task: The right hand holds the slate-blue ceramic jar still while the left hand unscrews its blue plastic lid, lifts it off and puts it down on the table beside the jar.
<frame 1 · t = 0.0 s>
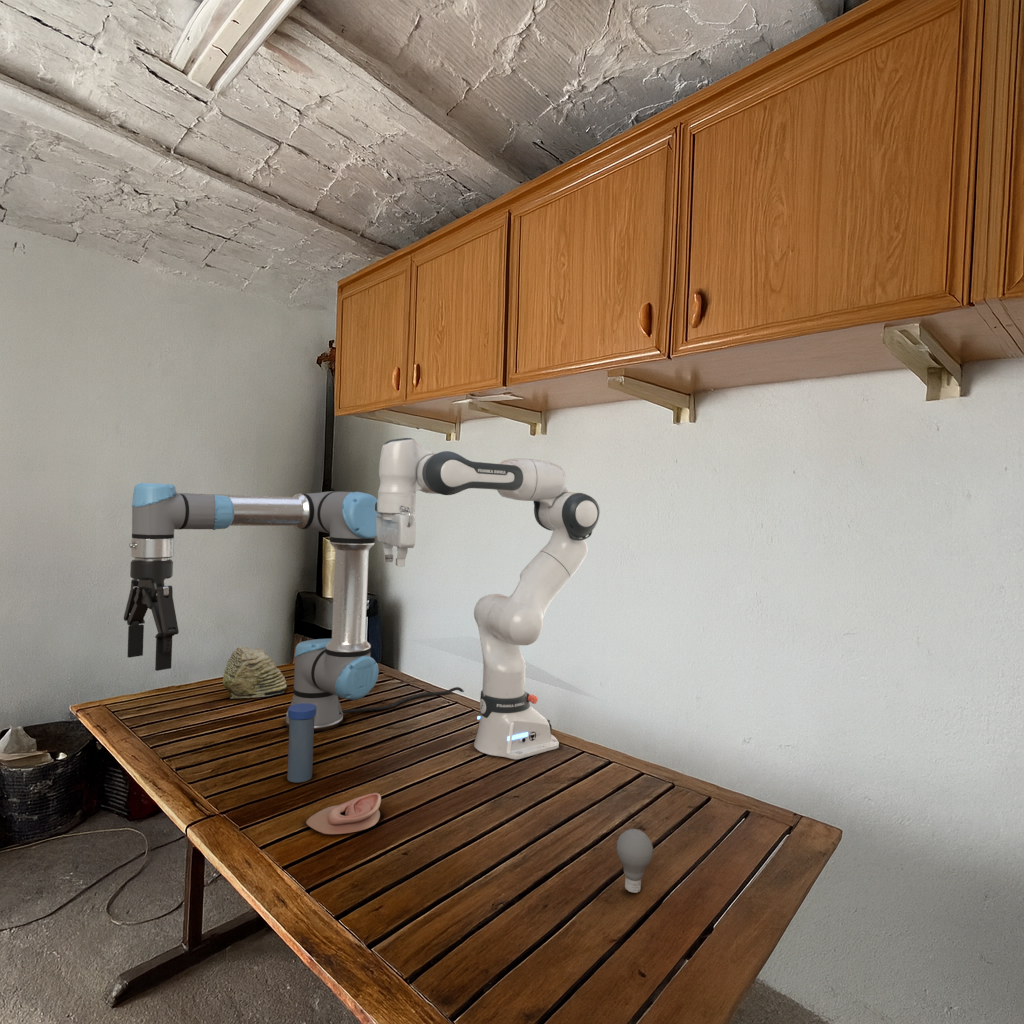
left hand: (148, 662, 129), 28 cm above the table, tool pointing down, fingers open, 13 cm apart
right hand: (394, 564, 151), 48 cm above the table, tool pointing down, fingers open, 8 cm apart
lid: (302, 709, 142), point 15 cm above the table, screwed on, not yet turned
light bulb: (632, 891, 106), on the table
jar: (299, 777, 142), on the table
fossil: (254, 694, 198), on the table
anatomical model: (344, 821, 124), on the table
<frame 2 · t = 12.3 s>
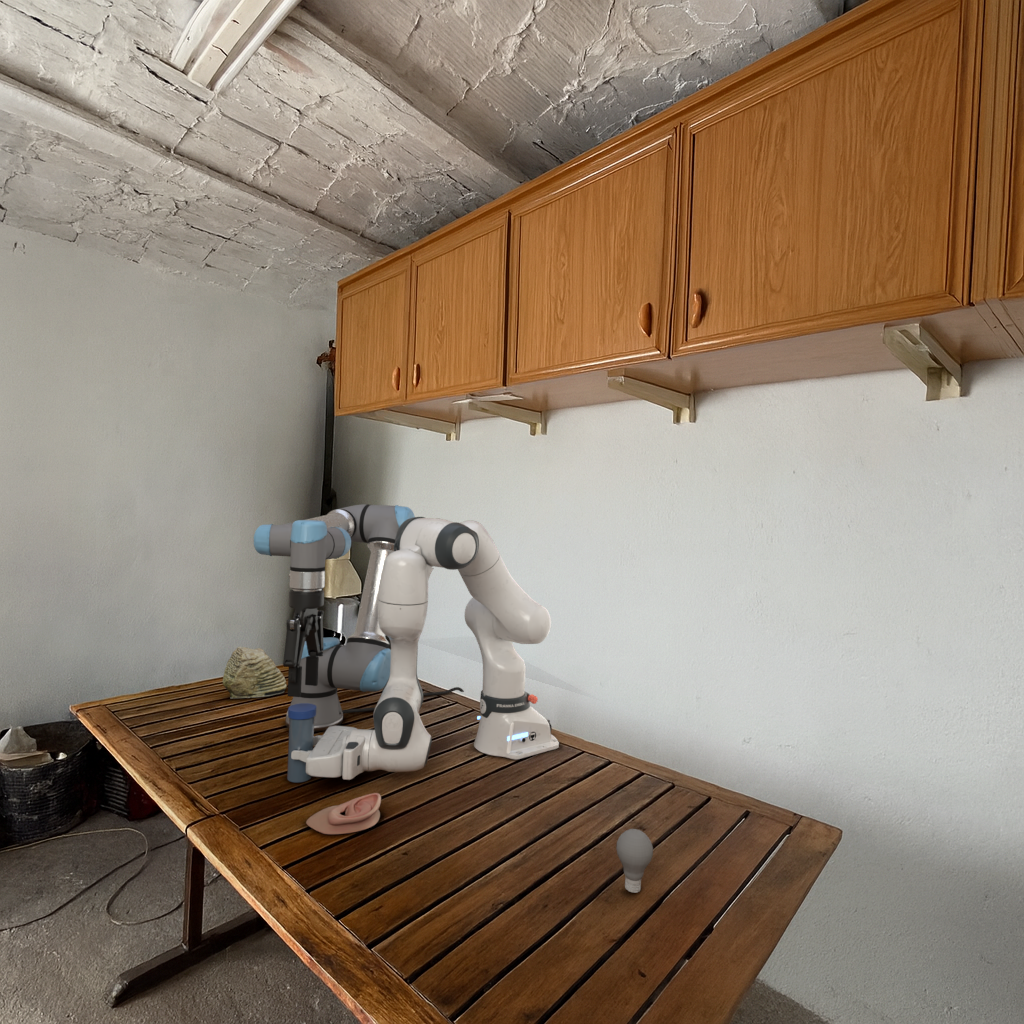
left hand: (303, 690, 142), 20 cm above the table, tool pointing down, fingers open, 8 cm apart
right hand: (296, 748, 142), 7 cm above the table, tool horizontal, fingers closed on jar, 5 cm apart
jar: (299, 777, 142), on the table, touching right hand
everything else where it was.
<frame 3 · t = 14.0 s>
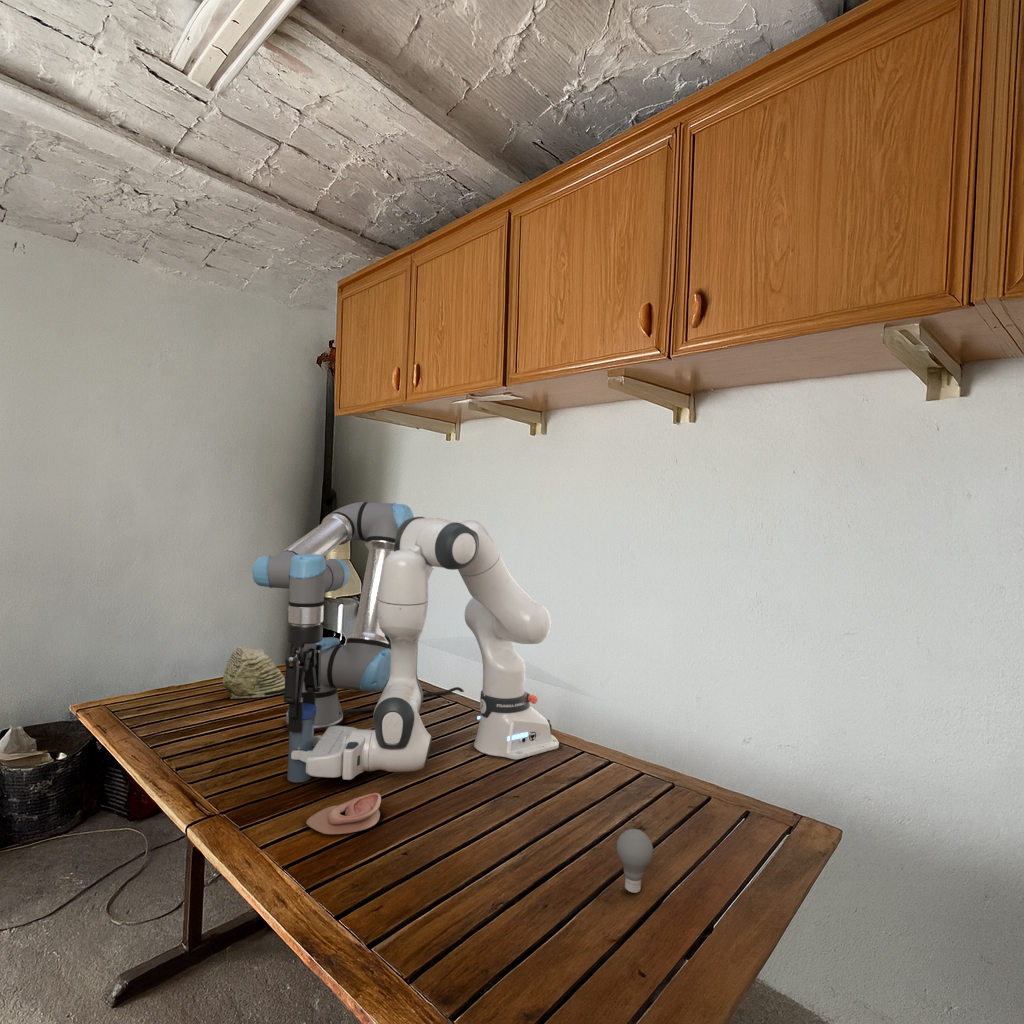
left hand: (301, 725, 142), 12 cm above the table, tool pointing down, fingers closed on lid, 6 cm apart
right hand: (296, 748, 142), 7 cm above the table, tool horizontal, fingers closed on jar, 5 cm apart
lid: (302, 709, 142), point 15 cm above the table, screwed on, not yet turned, touching left hand
jar: (299, 777, 142), on the table, touching right hand
everything else where it was.
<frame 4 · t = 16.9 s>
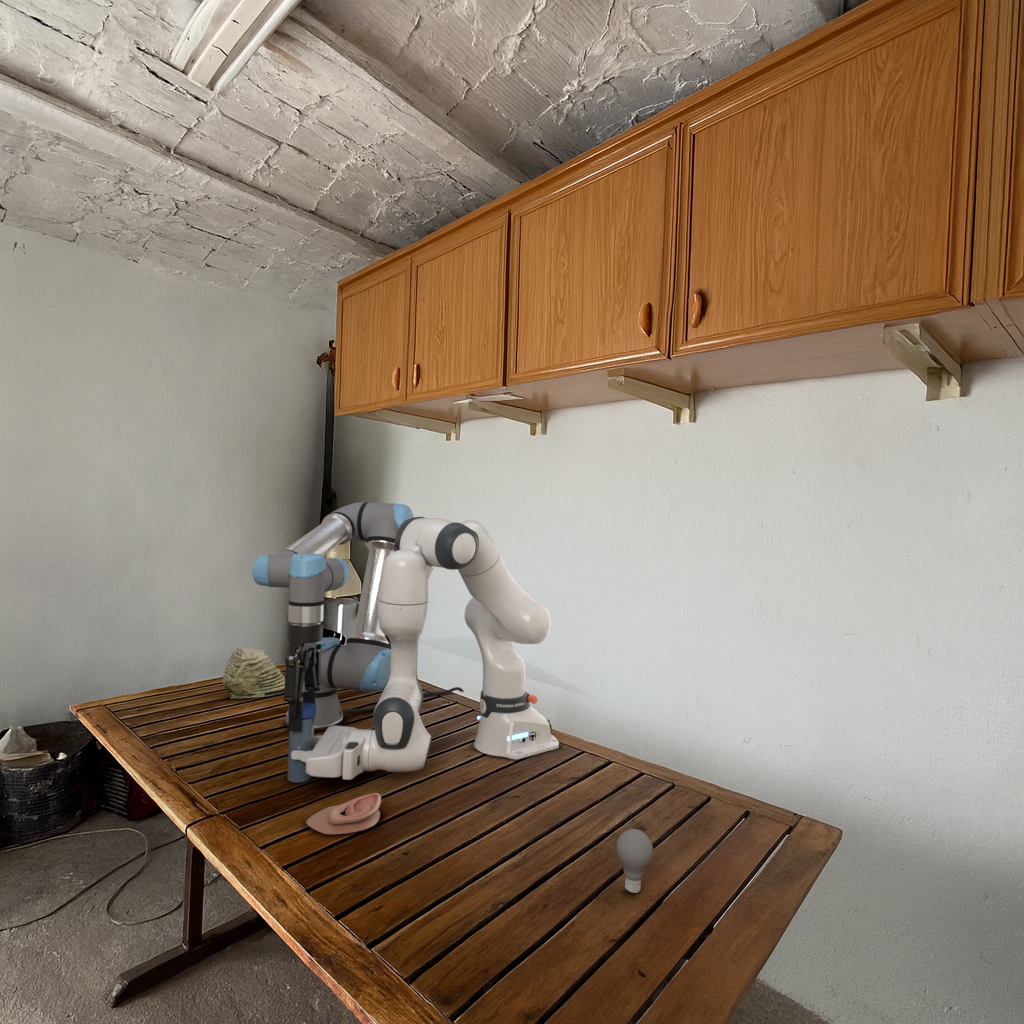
left hand: (301, 725, 142), 12 cm above the table, tool pointing down, fingers closed on lid, 6 cm apart
right hand: (296, 748, 142), 7 cm above the table, tool horizontal, fingers closed on jar, 5 cm apart
lid: (302, 708, 142), point 16 cm above the table, turned 61° so far, risen 0.2 cm, still on its thread, touching left hand
jar: (299, 777, 142), on the table, touching right hand
everything else where it was.
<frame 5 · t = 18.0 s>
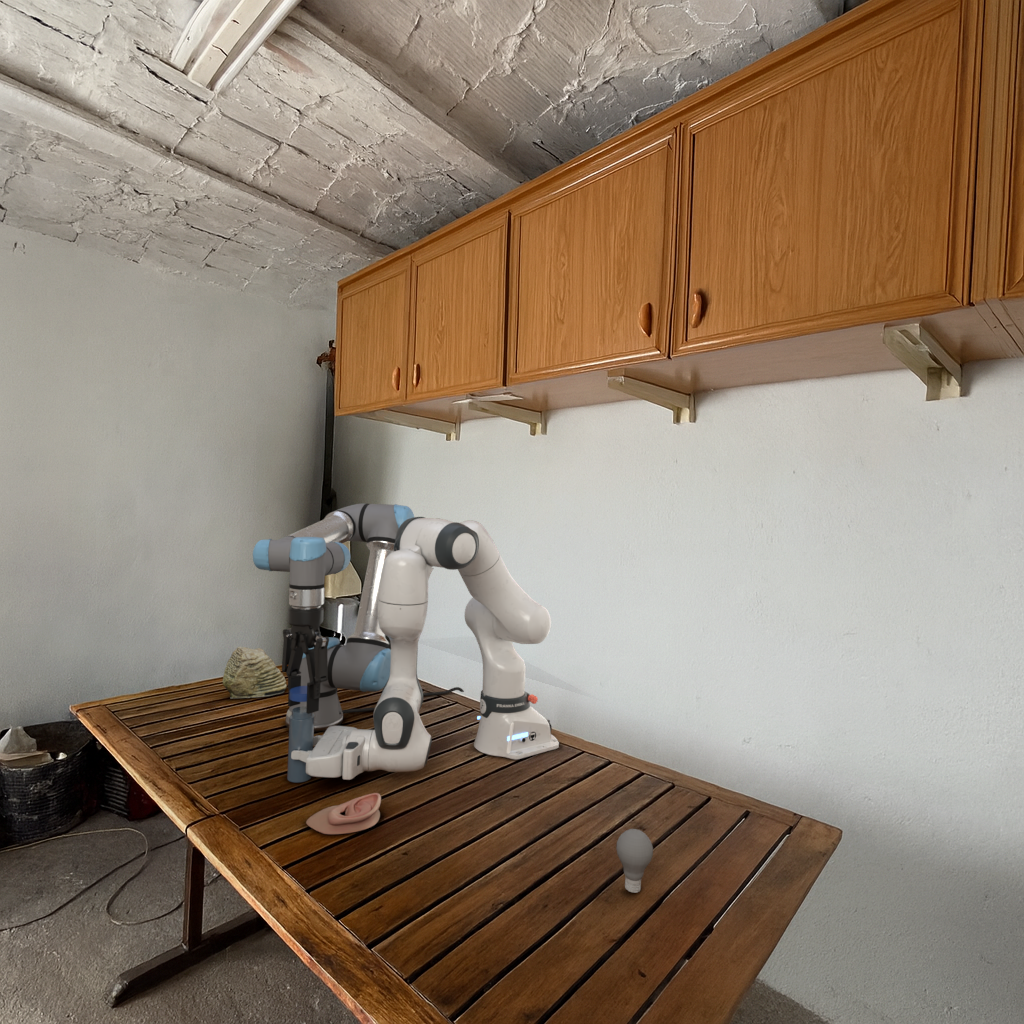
left hand: (303, 708, 143), 16 cm above the table, tool pointing down, fingers closed on lid, 6 cm apart
right hand: (296, 748, 142), 7 cm above the table, tool horizontal, fingers closed on jar, 5 cm apart
lid: (303, 691, 142), point 19 cm above the table, off its thread, touching left hand
jar: (299, 777, 142), on the table, touching right hand
everything else where it was.
when the left hand's fingers open (0 cm above the table, at t = 23.2 s): lid drops 2 cm, point 1 cm above the table.
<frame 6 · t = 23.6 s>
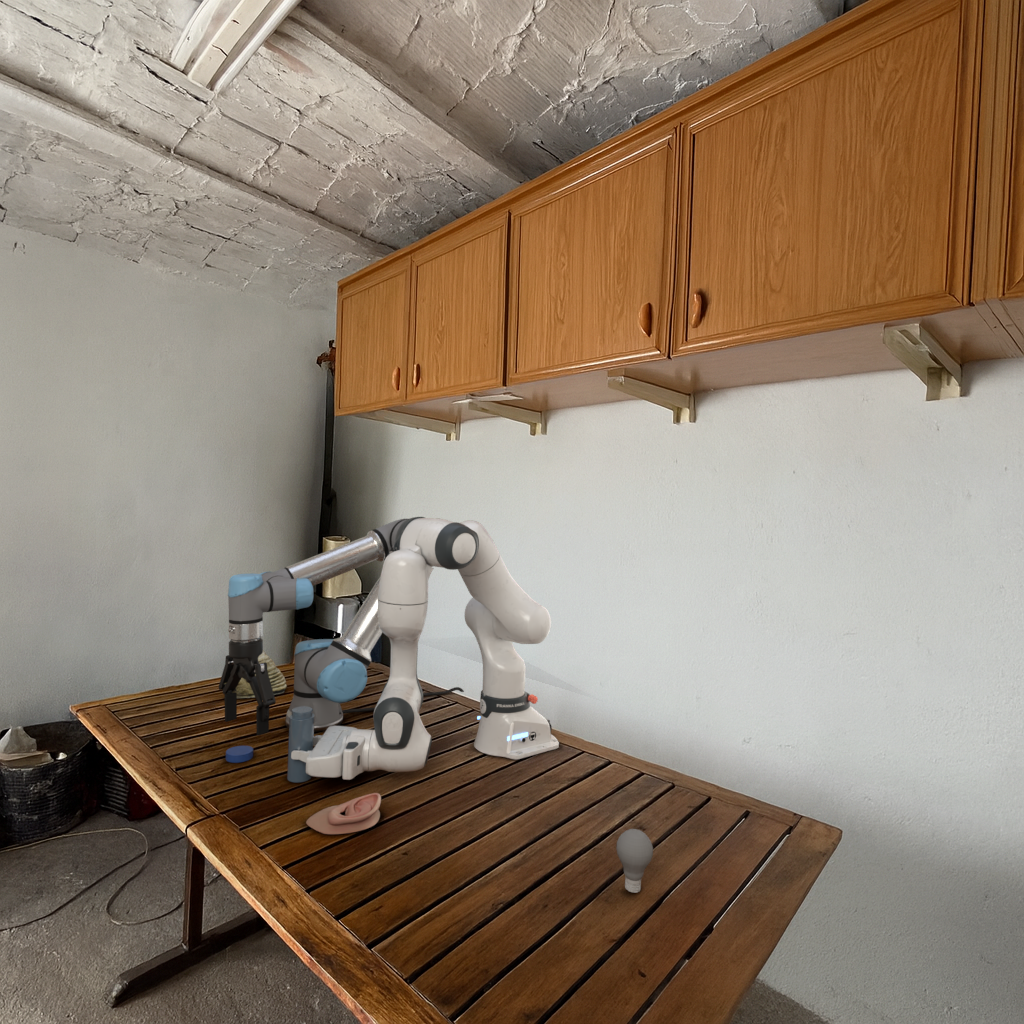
left hand: (246, 726, 152), 7 cm above the table, tool pointing down, fingers open, 13 cm apart
right hand: (296, 748, 142), 7 cm above the table, tool horizontal, fingers closed on jar, 5 cm apart
lid: (239, 751, 151), point 1 cm above the table, off its thread
jar: (299, 777, 142), on the table, touching right hand
everything else where it was.
when the right hand's fingers open (7 cm above the table, at t = 23.9 s): jar stays where it is, on the table.
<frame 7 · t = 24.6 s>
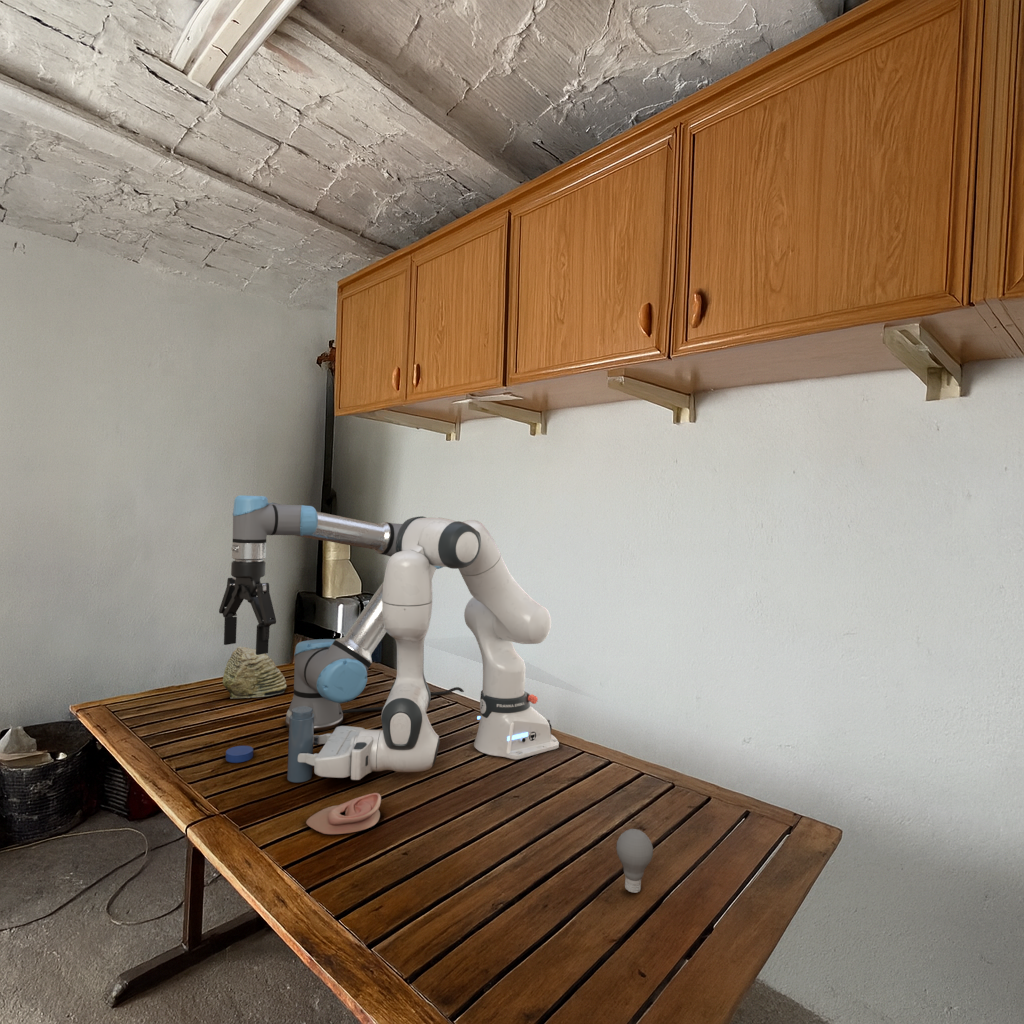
left hand: (245, 648, 151), 26 cm above the table, tool pointing down, fingers open, 13 cm apart
right hand: (305, 748, 143), 7 cm above the table, tool horizontal, fingers open, 8 cm apart
jar: (299, 777, 142), on the table
everything else where it was.
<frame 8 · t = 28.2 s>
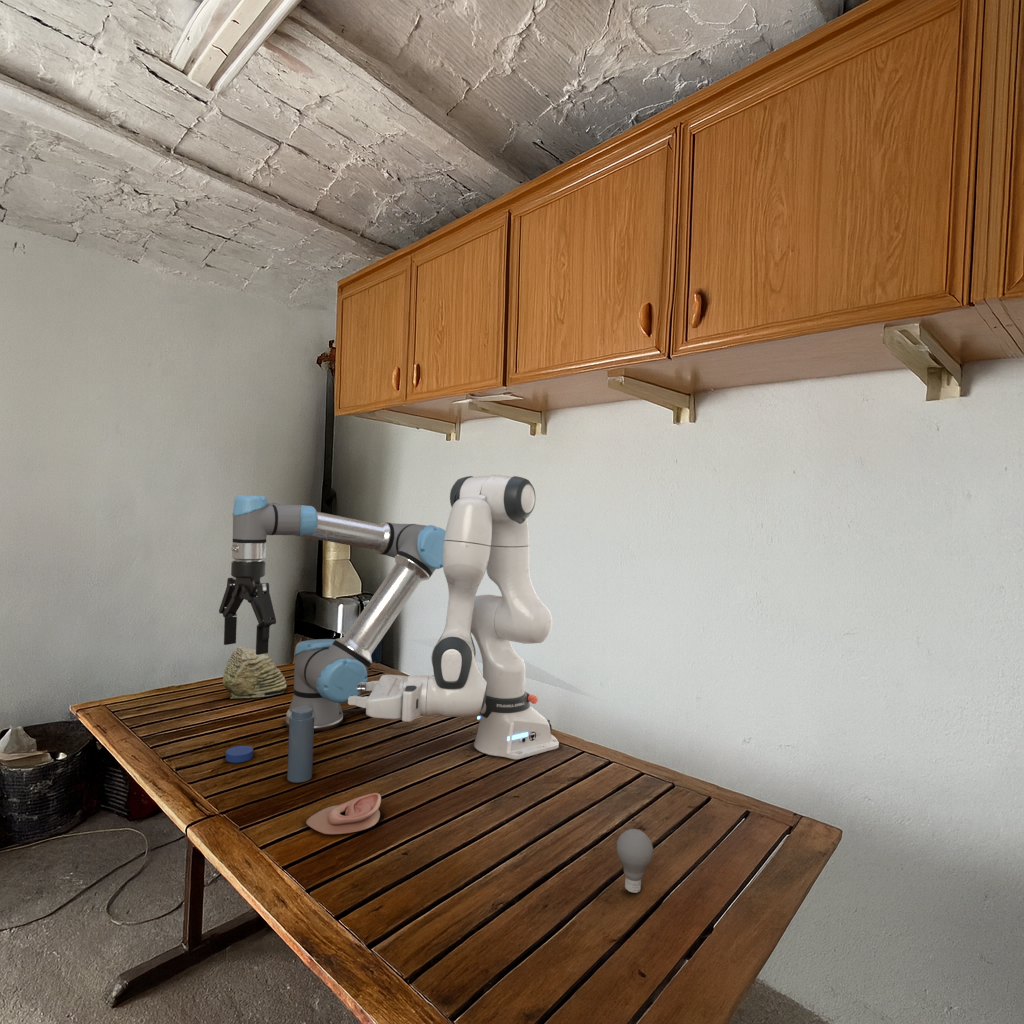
left hand: (245, 648, 151), 26 cm above the table, tool pointing down, fingers open, 13 cm apart
right hand: (353, 693, 143), 19 cm above the table, tool horizontal, fingers open, 8 cm apart
nothing on the table moved.
at the end: lid came off its thread; lid point 1.4 cm above the table; the left hand is holding nothing; the right hand is holding nothing; jar tilted 0°; jar moved 0.0 cm from its start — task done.
